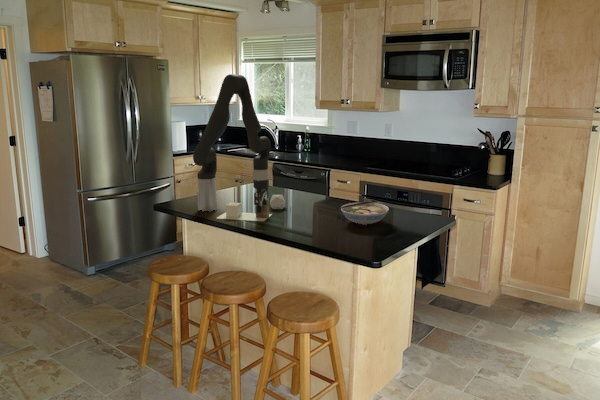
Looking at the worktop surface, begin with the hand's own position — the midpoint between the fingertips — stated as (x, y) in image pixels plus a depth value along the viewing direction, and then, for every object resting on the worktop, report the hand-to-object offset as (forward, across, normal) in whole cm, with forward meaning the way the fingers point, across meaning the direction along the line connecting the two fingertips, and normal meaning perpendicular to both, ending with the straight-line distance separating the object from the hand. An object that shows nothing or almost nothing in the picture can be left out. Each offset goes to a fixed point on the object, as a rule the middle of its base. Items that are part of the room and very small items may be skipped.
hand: (261, 210), depth 255 cm
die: (+4, -19, +2) cm, 20 cm away
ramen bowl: (+4, -3, +50) cm, 51 cm away
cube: (+4, 0, -15) cm, 15 cm away
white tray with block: (+4, 0, -9) cm, 10 cm away
